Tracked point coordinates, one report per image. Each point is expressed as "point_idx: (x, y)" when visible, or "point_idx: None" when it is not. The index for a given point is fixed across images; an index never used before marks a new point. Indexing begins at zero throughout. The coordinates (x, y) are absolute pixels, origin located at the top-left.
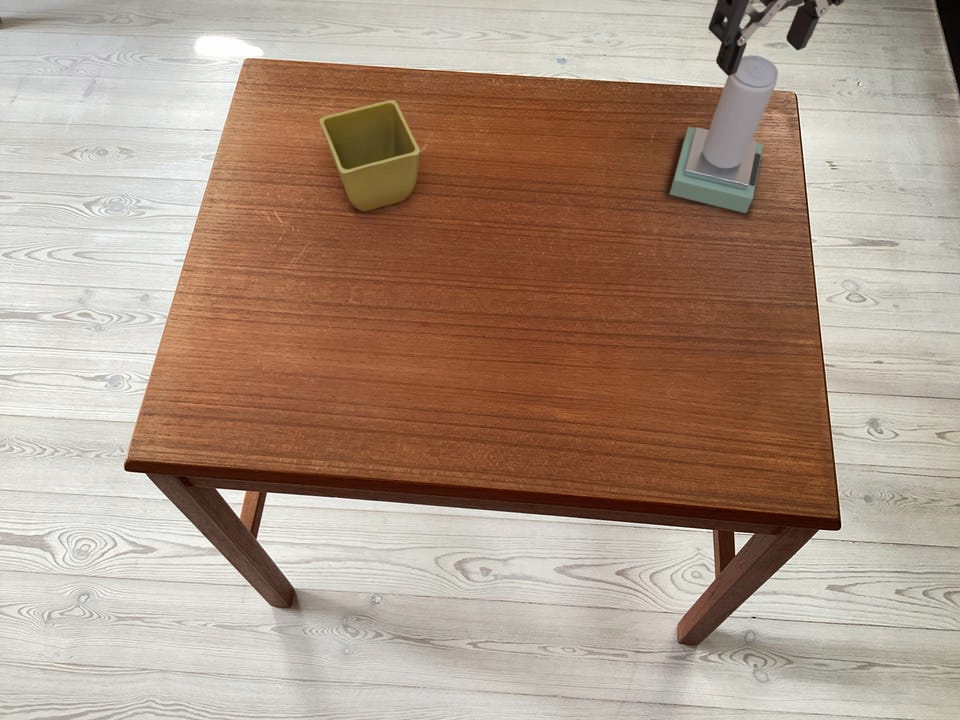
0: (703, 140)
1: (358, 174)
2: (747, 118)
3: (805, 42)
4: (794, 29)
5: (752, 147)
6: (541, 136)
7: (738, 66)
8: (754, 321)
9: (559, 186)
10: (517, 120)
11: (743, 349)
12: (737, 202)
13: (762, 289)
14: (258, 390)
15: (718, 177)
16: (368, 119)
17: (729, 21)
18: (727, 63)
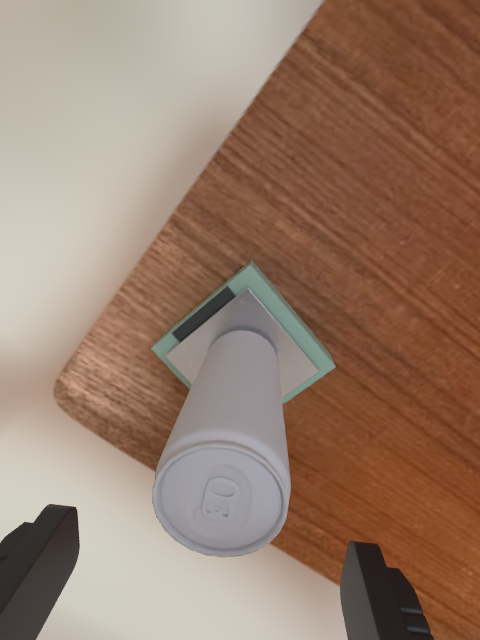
0: None
1: None
2: (259, 390)
3: (43, 527)
4: (49, 594)
5: (182, 349)
6: (408, 527)
7: (363, 570)
8: (407, 59)
9: (457, 448)
10: (414, 562)
11: (472, 16)
12: (264, 278)
13: (342, 112)
14: None
15: (282, 329)
16: None
17: None
18: (415, 608)
